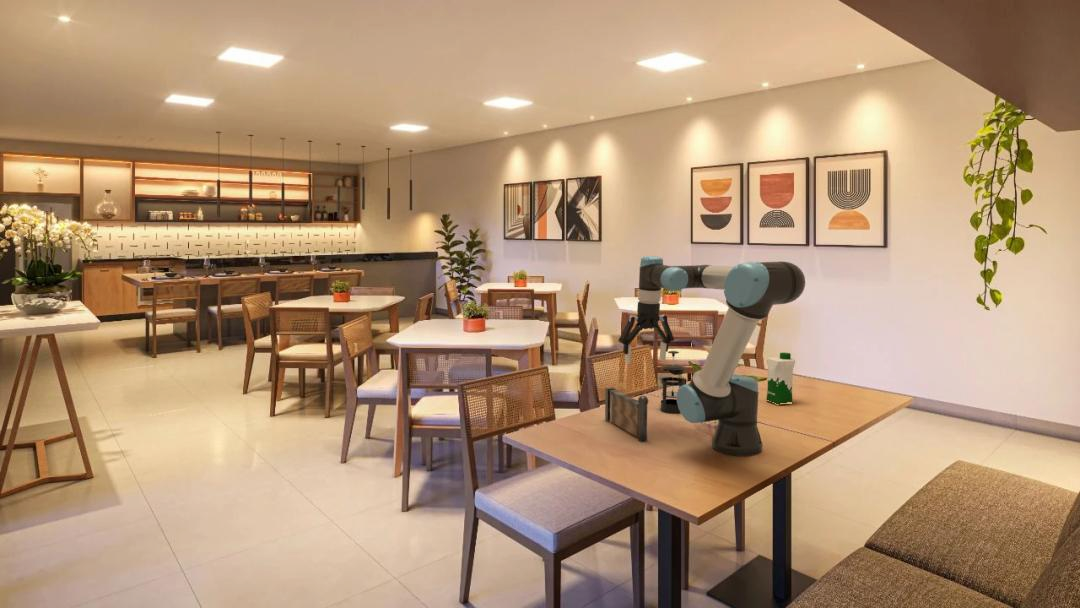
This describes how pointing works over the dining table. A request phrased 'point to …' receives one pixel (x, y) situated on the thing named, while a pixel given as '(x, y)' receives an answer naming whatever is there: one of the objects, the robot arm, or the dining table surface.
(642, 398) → the gate post
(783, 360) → the milk carton
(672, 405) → the french press
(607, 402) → the latch post
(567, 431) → the dining table surface
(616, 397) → the gate
